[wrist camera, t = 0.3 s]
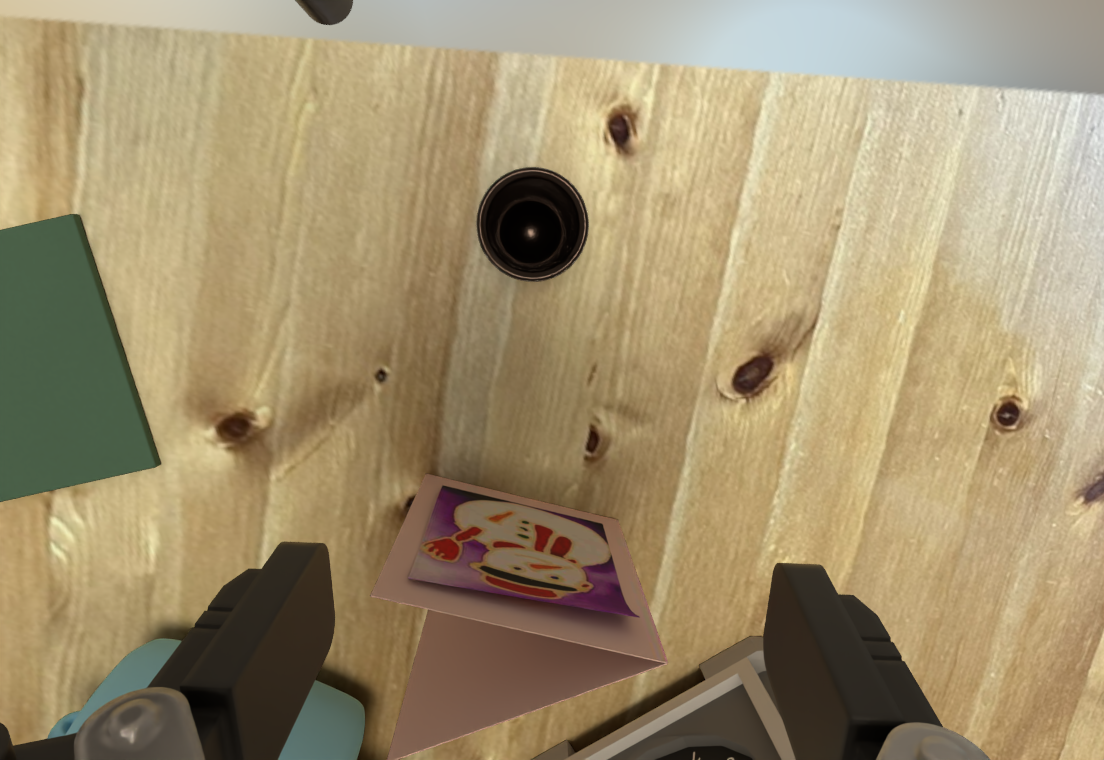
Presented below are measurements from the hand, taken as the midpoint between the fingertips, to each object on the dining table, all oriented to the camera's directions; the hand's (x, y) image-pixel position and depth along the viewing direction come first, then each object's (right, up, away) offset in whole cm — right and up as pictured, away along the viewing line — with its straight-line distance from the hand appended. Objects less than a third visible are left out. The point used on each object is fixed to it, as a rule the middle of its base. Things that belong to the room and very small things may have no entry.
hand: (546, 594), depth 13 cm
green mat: (-29, +5, +26) cm, 40 cm away
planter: (-1, +12, +26) cm, 29 cm away
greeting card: (-2, -6, +29) cm, 30 cm away
